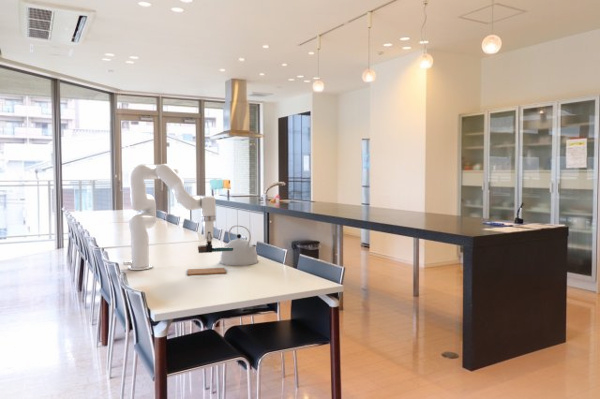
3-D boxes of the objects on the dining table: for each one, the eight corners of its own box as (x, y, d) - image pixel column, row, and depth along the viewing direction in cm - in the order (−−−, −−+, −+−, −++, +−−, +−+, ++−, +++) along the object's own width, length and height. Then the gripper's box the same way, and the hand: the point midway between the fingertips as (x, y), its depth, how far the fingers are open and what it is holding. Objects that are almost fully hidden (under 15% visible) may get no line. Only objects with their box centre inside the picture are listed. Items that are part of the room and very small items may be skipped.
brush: (198, 253, 249) (198, 246, 249) (198, 251, 253) (198, 245, 253) (233, 251, 253) (233, 245, 253) (233, 250, 257) (233, 244, 257)
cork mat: (187, 275, 245) (187, 273, 245) (188, 270, 257) (188, 269, 256) (225, 273, 249) (225, 272, 249) (224, 269, 261) (224, 267, 261)
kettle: (268, 261, 284) (267, 225, 283) (243, 267, 265) (243, 228, 264) (237, 257, 298) (237, 222, 297) (212, 262, 280) (212, 225, 278)
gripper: (201, 217, 259) (202, 249, 260) (201, 220, 242) (202, 254, 243) (215, 217, 260) (215, 249, 261) (216, 220, 244) (216, 253, 245)
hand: (209, 251), depth 252 cm, fingers closed on brush, 4 cm apart
